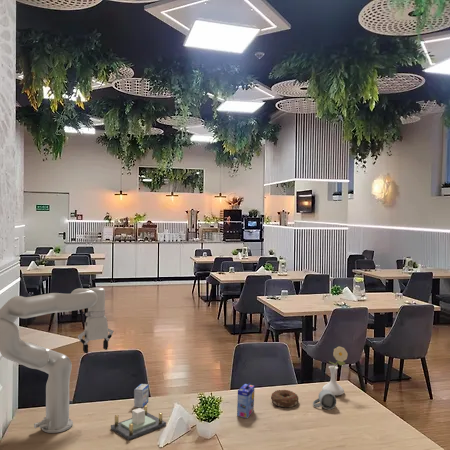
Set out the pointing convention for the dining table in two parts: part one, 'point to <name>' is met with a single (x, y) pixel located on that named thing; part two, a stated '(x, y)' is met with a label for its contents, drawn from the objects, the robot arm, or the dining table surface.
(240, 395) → the ink cartridge box
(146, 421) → the sage board
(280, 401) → the donut
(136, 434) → the chassis plate
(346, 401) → the dining table surface
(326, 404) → the ceramic mug
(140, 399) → the medicine box
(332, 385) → the flower in vase
